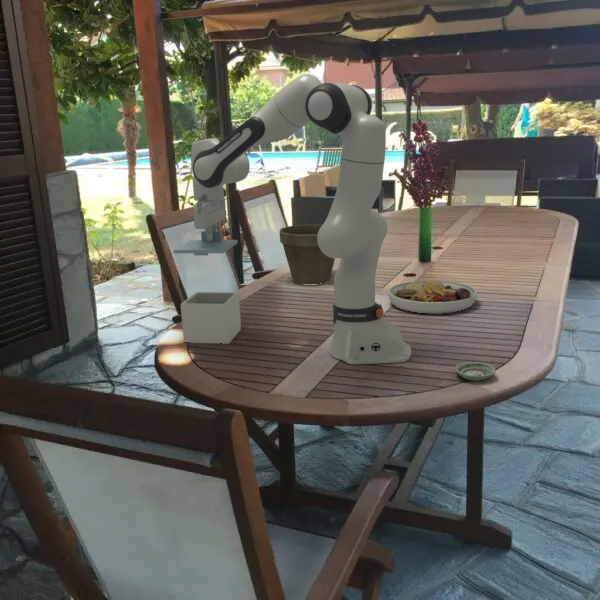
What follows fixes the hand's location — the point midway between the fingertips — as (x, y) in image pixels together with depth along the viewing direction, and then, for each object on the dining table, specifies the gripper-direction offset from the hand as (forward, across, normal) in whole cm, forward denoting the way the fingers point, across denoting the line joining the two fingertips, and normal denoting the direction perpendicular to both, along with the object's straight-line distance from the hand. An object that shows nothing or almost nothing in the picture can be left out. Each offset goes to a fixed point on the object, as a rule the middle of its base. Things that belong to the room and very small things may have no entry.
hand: (211, 239), depth 196 cm
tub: (+29, -6, 0) cm, 30 cm away
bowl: (+30, +33, -67) cm, 80 cm away
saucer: (+30, -33, -76) cm, 88 cm away
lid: (+2, -6, 0) cm, 6 cm away
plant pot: (+29, +64, -20) cm, 73 cm away
